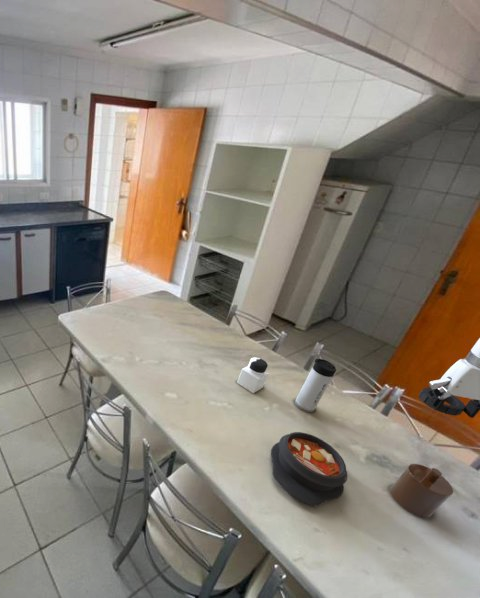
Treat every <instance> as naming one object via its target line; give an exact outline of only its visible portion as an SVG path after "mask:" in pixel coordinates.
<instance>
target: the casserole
mask: <svg viewBox="0 0 480 598" xmlns="http://www.w3.org/2000/svg"><path fill="white" fill-rule="evenodd" d="M270 458H271V463H272V476H273V478H274V480H275V481H276V483H278V485H279V486H280V487H281V488H283V490H284V491H286V492H287V493H288V494H290V495H291V496H292V497H293V498H295V499H297V500H298V501H300V502H303V503H304V504H307V505H310V506H312V507H313V506H314V507H319V506H320V505H322V504H324V503H326V502H329V501H333V500H336V499H338V498H340V497H341V496H342V495H343V494H344V490H345V486H344V485H345V484H346V482H347V481H348V471H347V465H346V463H345V460H344V459H343V457H342V456H341V455H340V453H339V452H338V451H337V450H336V449H335V448H334V447H333V446H331V445H330V444H329V443H328V442H327V441H324V440H323V439H321V438H319V437H317V436H315V435H314V434H311V433H308V432H307V433H306V432H301V431H294V432H290V433H288V434H285V435H283V436H282V437H281V438H280V439H279V441H278V442H276V443H275V444H274V445H272V447H271V450H270Z"/></svg>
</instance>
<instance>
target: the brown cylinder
mask: <svg viewBox="0 0 480 598" xmlns="http://www.w3.org/2000/svg"><path fill="white" fill-rule="evenodd" d="M442 473H443V472H441V471H440V470H439V469H437V468H434V467H432V468H430V467H428V466H425V465H424V464H418V463H411V464H409V465H408V466H407V468H405V469H404V471H403V472H402V473H401V475H400V476H399V477H398V478H397V480H396V481H395V482H394V483H393V484H392V485H391V487H390V488H389V493H390V495H391V497H392V498H393V499H394V501H395V502H396V503H397V504H398V505H399V506H400V507H401V508H402V509H403V510H405V511H407V512H409V513H411V514H412V515H415V516H417V517H420V518H425V519H427V518H431V516H432V515H433V514H435V512H437V510H438V509H439V508H440V507H441V506H442V505H443V504H444V503H445V502H446V501H447V500H448V499H449V498H450V497H451V496H453V494H454V488H453V487H452V485H451V484H450V482H449V481H448V480H447V479H446V478H445V477H443V476H442V475H443V474H442Z"/></svg>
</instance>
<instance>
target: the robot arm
mask: <svg viewBox="0 0 480 598" xmlns="http://www.w3.org/2000/svg"><path fill="white" fill-rule="evenodd" d="M428 385H429V388H431V390H432V391H433V393H434V395H433V397H432V398H431V400H430V401H429V405H430V406H431V407H432V408H431V407H430V408H431V409H433V410H434V411H437V412H439V411H438V410H439V409H440V407H441V406H442V405H443V403H444V404H445V403H446V402H445V400H444V399H445V398H447V397H449V396H451V395H453V396H455V397H459V398H460V397H461V398H465V399H470V400H468V402H467V403H466V404H465V409H464V411H463V413H465V414H466V415H467V416H468V417H469V418H470V419H474V418H475V416H476V415H477V414H478V413H479V412H480V337H479V338H478V339H477V340H476V342H475V344H474V345H473V346H472V348H471V349H470V351H469V352H468V354H466V356H465V357H464V358H460V359H458V360H457V361H456V362H455V363H453V365H451V366H450V367H449V368H448V369H447V370H446V371H445V372H444V374H443V375H442V376H441V378H440V379H435V380H431V381H429V382H428ZM444 391H445V393H443V394H441V392H444Z"/></svg>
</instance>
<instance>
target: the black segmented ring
mask: <svg viewBox="0 0 480 598" xmlns="http://www.w3.org/2000/svg"><path fill="white" fill-rule="evenodd" d="M445 392H446V391H444V392H441V394H443V393H445ZM433 395H434V393H433V391H432V390H431V387H430V386H429V387H423V388H422V389H421V391H419V394H418V398H419V399H420V401H421V402H422V403H424V404H425V405H426V406H427V407H429V408H431V409H433V408H432V407H431V406H430V405H429V401H430V400H431V398H432V397H433ZM444 400H445V402H444V403H443V405H442V406H441V407H440V409H439V410H438V411H437V412H439V413H442V414H445V415H450V416H460V415H462V413H464V409H465V406H466V404H465V403H464V402H463V401H462V400H461V399H459V397H458V396H455V395H451V396H449V397H447V398H445V399H444Z"/></svg>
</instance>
